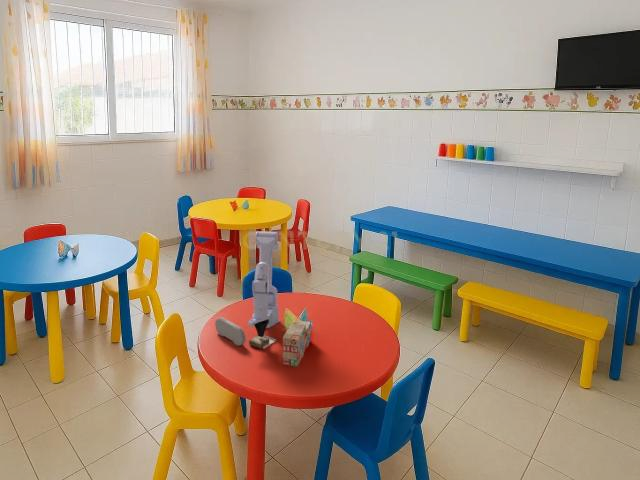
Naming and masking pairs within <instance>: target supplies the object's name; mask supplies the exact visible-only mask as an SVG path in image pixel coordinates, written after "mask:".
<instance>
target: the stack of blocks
mask: <svg viewBox="0 0 640 480" xmlns="http://www.w3.org/2000/svg"><path fill="white" fill-rule="evenodd" d="M311 325H312V324H311V321H305V320H304V321H302V320H296V321H295V323H290V325H289V327H288V328H287V330H286V332H285V333H284V335H283V337H282V365H284V366H290V367H298V366H299V365H300V362H301V361H302V359H303V357H304V354H305V352H306V350H307V349H308V347H309V345H310V343H311V333H312V332H311V331H312V330H311Z"/></svg>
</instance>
